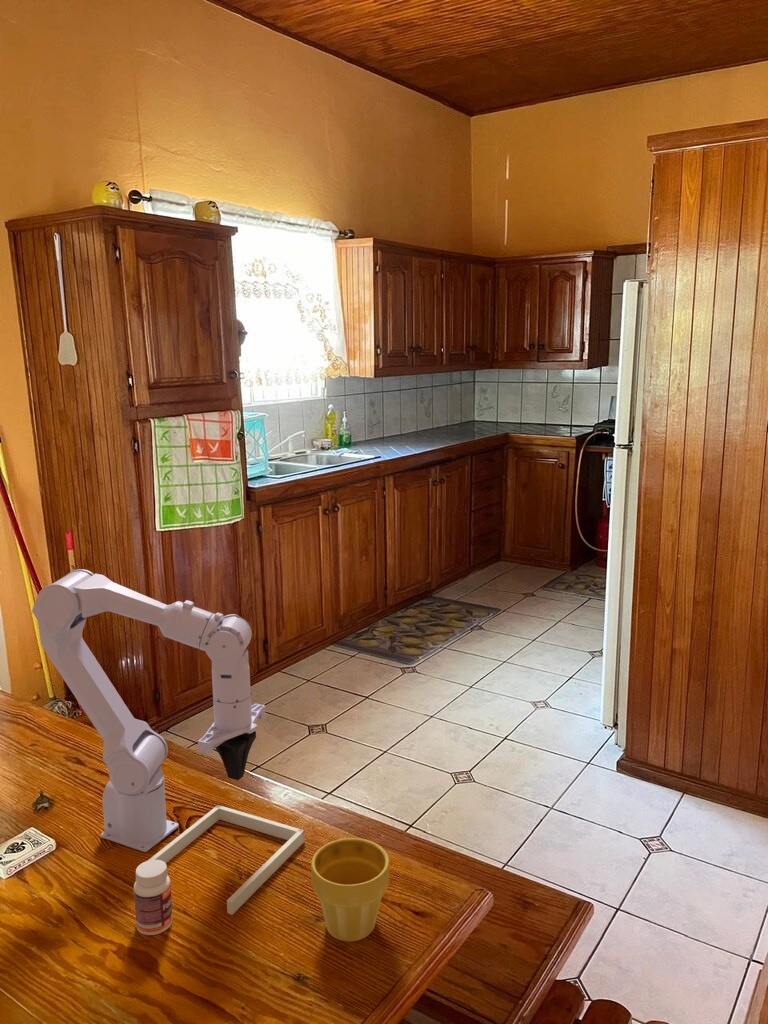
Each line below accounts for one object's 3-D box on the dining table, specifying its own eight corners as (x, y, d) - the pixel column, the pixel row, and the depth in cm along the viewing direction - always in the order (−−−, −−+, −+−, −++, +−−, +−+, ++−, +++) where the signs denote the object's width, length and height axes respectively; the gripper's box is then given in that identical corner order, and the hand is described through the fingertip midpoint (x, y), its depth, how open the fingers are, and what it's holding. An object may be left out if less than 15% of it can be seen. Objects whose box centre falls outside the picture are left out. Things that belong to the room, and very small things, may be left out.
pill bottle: (172, 933, 106) (168, 876, 104) (134, 938, 105) (130, 881, 103) (173, 909, 110) (170, 855, 109) (137, 914, 109) (134, 859, 108)
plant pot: (380, 958, 101) (380, 889, 99) (302, 947, 103) (301, 879, 102) (395, 905, 111) (395, 841, 109) (324, 895, 113) (323, 833, 112)
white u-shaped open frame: (138, 880, 117) (137, 868, 116) (218, 815, 133) (217, 804, 133) (232, 915, 109) (231, 902, 109) (304, 841, 126) (304, 830, 125)
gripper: (223, 719, 115) (227, 805, 117) (279, 683, 127) (282, 761, 130) (185, 710, 118) (189, 794, 120) (243, 675, 130) (247, 752, 133)
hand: (235, 776), depth 125 cm, fingers closed
